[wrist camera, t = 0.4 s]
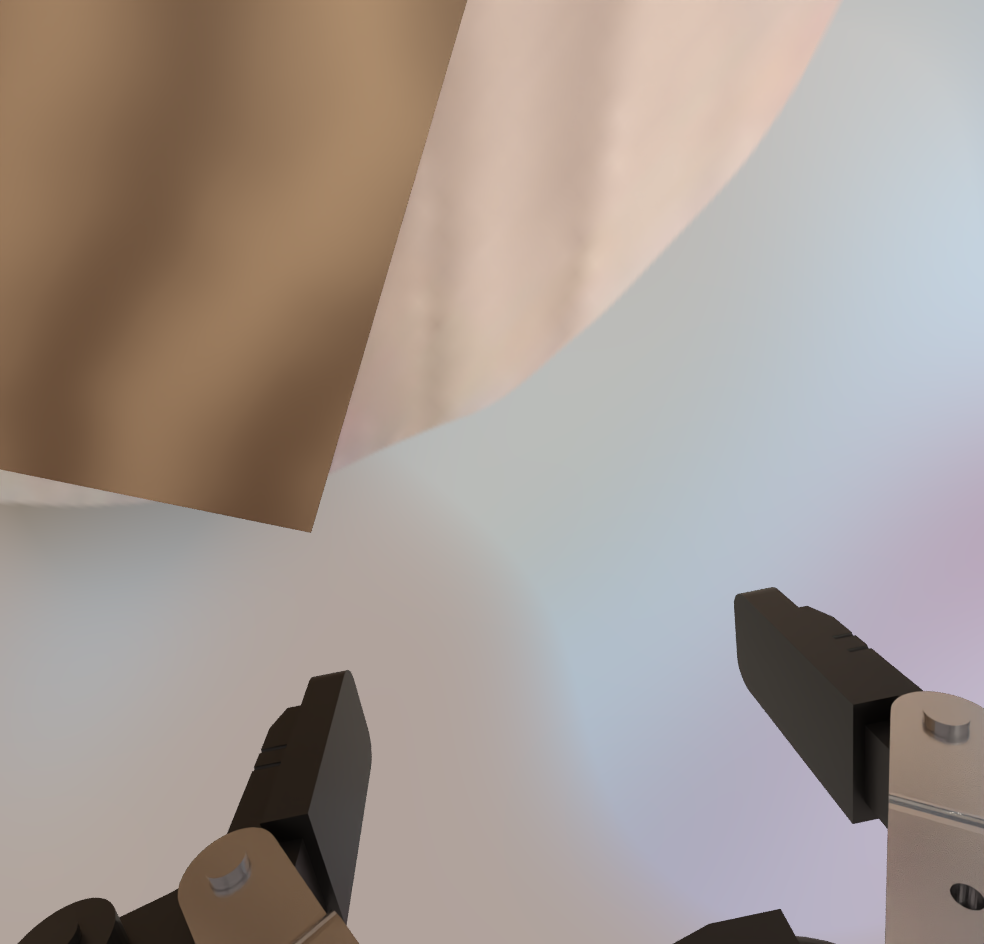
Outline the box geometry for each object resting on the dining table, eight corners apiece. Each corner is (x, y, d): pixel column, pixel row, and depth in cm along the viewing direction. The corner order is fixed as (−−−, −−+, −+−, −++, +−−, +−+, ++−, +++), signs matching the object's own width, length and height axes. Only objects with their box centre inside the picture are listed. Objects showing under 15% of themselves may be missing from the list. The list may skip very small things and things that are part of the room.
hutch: (48, 321, 30) (-207, 427, 16) (100, -146, 24) (-245, -614, 10) (326, 398, 35) (311, 532, 21) (431, 24, 28) (507, -139, 15)
